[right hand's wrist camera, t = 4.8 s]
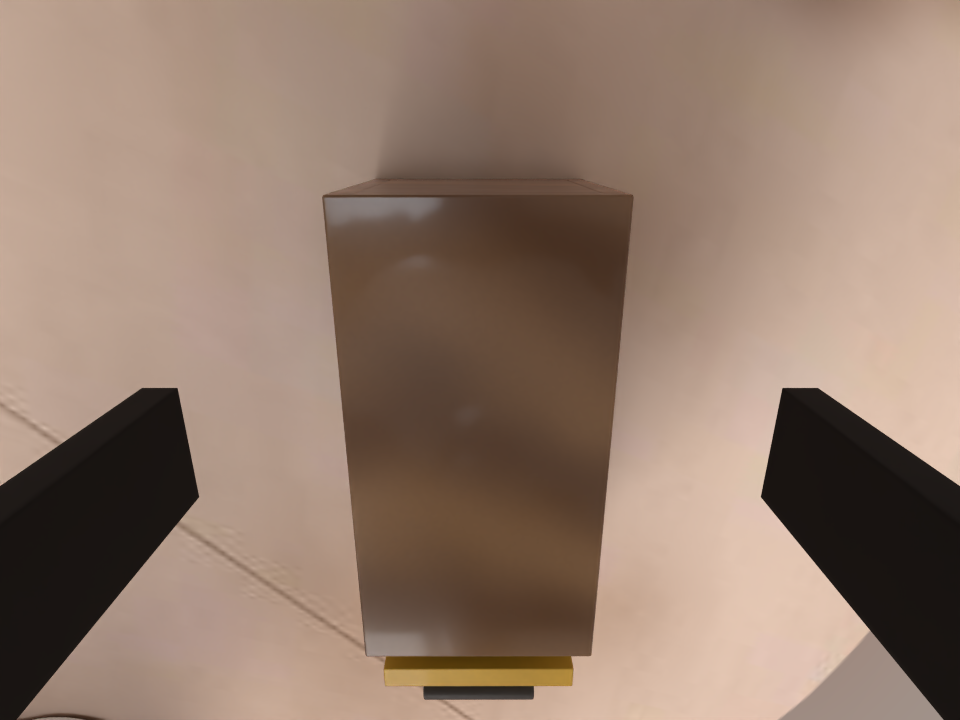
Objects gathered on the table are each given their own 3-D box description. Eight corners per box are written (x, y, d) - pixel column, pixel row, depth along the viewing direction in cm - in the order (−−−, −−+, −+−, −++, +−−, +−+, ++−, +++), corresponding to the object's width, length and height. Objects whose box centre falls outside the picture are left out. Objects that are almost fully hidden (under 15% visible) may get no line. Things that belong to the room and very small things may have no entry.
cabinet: (561, 520, 37) (591, 657, 27) (395, 521, 37) (365, 657, 27) (582, 179, 29) (634, 194, 20) (374, 179, 29) (321, 195, 20)
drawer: (548, 631, 39) (566, 757, 31) (409, 631, 39) (390, 757, 31) (569, 265, 30) (602, 308, 22) (387, 265, 30) (354, 308, 22)
